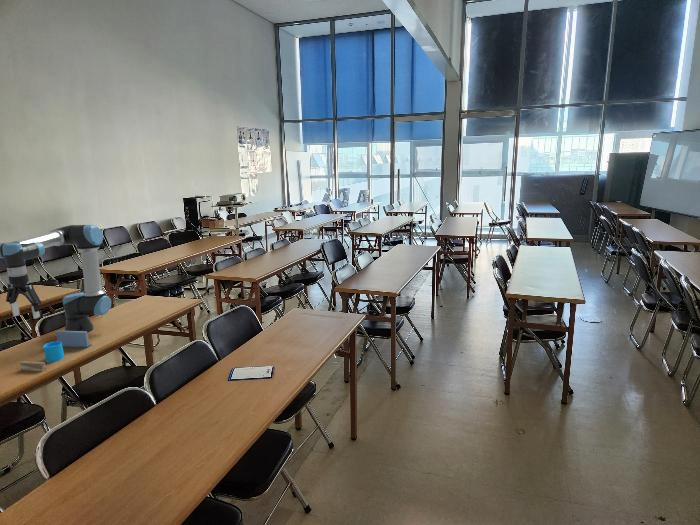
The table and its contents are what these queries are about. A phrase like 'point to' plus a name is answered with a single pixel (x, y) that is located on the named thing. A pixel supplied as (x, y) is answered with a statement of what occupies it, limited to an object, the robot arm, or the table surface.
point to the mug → (53, 351)
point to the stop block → (32, 366)
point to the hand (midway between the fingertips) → (26, 316)
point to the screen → (73, 338)
